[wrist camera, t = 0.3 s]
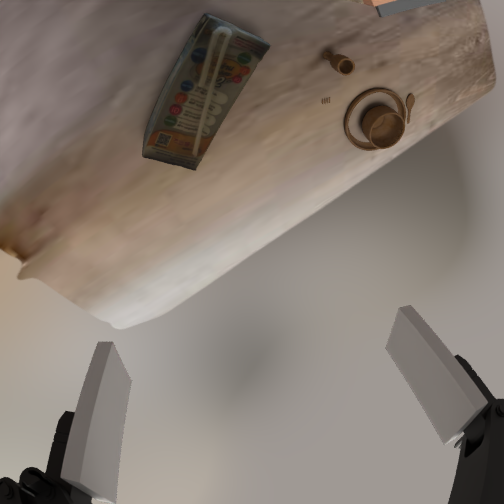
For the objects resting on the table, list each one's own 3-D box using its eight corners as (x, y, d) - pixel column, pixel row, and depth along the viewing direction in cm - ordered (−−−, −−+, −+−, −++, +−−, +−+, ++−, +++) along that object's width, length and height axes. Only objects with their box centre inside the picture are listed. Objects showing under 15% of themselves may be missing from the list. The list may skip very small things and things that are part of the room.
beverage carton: (262, 36, 27) (277, 47, 24) (193, 150, 39) (196, 176, 36) (204, 10, 23) (208, 14, 19) (142, 135, 35) (137, 161, 31)
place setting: (327, 156, 46) (342, 178, 42) (310, 48, 30) (330, 59, 26) (409, 134, 44) (427, 153, 41) (412, 37, 28) (437, 49, 25)
